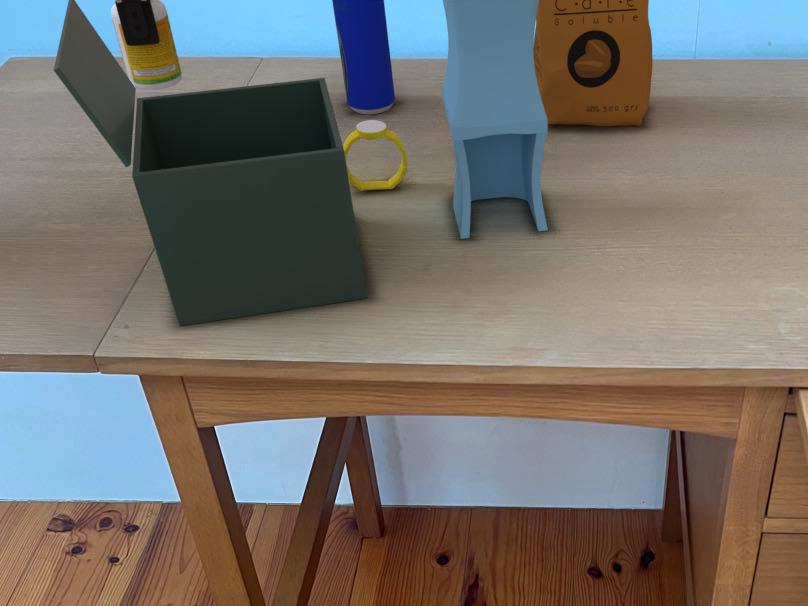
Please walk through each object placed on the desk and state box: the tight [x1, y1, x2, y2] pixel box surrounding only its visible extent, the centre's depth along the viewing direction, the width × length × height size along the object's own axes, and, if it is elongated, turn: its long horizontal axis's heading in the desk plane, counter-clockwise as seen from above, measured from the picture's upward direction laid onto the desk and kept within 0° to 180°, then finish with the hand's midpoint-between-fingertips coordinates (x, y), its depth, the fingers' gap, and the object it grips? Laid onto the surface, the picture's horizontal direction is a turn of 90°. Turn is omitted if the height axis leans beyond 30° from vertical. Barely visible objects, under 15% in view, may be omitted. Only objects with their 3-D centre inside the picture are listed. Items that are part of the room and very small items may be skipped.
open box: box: [131, 77, 368, 327], centre depth 81 cm, size 15×14×12 cm
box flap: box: [53, 0, 137, 168], centre depth 73 cm, size 7×14×1 cm
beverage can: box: [331, 0, 396, 115], centre depth 104 cm, size 5×5×15 cm
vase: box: [441, 0, 549, 240], centre depth 85 cm, size 8×8×20 cm
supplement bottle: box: [110, 0, 183, 91], centre depth 102 cm, size 5×5×10 cm
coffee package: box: [533, 0, 654, 127], centre depth 99 cm, size 10×12×22 cm
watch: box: [342, 119, 408, 192], centre depth 94 cm, size 6×3×6 cm, turn 101°
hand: (143, 31), depth 102 cm, fingers closed on supplement bottle, 5 cm apart
